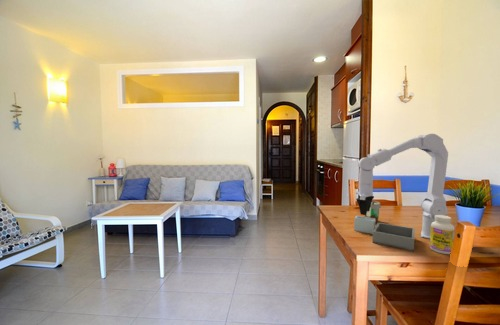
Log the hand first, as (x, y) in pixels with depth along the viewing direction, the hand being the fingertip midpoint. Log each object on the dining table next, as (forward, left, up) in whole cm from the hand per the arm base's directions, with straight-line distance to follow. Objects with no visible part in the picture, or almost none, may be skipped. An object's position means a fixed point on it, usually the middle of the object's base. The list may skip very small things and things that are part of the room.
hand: (365, 212), depth 106 cm
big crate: (-12, +6, -8) cm, 16 cm away
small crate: (0, 0, -8) cm, 8 cm away
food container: (-1, -19, -9) cm, 21 cm away
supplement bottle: (-27, +7, -9) cm, 29 cm away
